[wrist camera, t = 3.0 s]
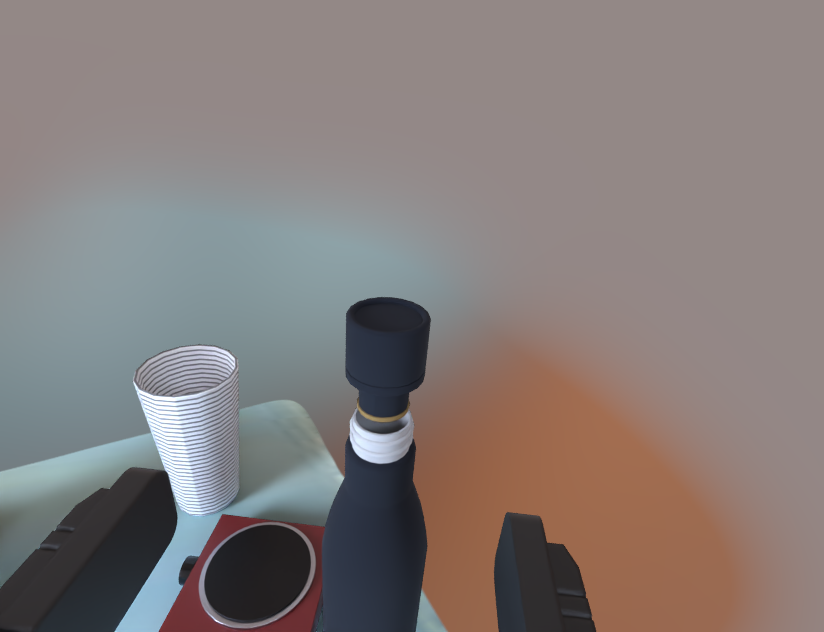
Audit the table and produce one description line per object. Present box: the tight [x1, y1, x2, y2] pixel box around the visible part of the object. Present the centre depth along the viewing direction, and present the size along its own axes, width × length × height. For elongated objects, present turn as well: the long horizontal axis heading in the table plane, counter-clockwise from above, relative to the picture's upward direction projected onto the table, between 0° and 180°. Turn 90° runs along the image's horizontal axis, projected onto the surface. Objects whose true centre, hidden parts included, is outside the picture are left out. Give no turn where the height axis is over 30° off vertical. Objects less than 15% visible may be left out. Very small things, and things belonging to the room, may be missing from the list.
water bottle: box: [322, 297, 431, 632], centre depth 27 cm, size 6×6×30 cm
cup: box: [133, 345, 239, 516], centre depth 44 cm, size 8×8×16 cm
